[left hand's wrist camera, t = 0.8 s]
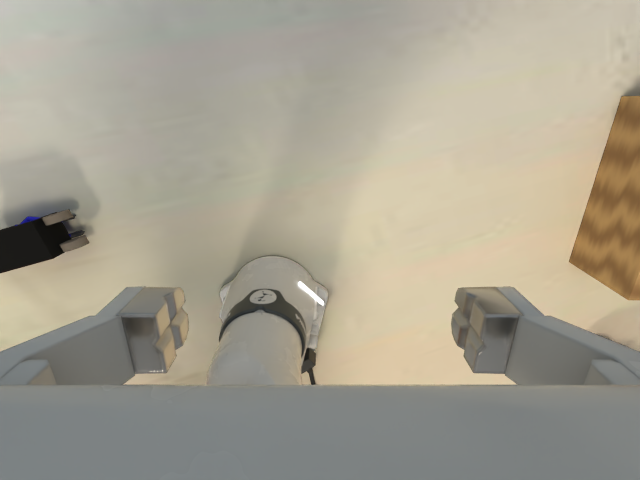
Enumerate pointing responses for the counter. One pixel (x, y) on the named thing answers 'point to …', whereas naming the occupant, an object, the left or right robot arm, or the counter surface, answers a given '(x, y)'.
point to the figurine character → (37, 240)
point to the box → (615, 209)
